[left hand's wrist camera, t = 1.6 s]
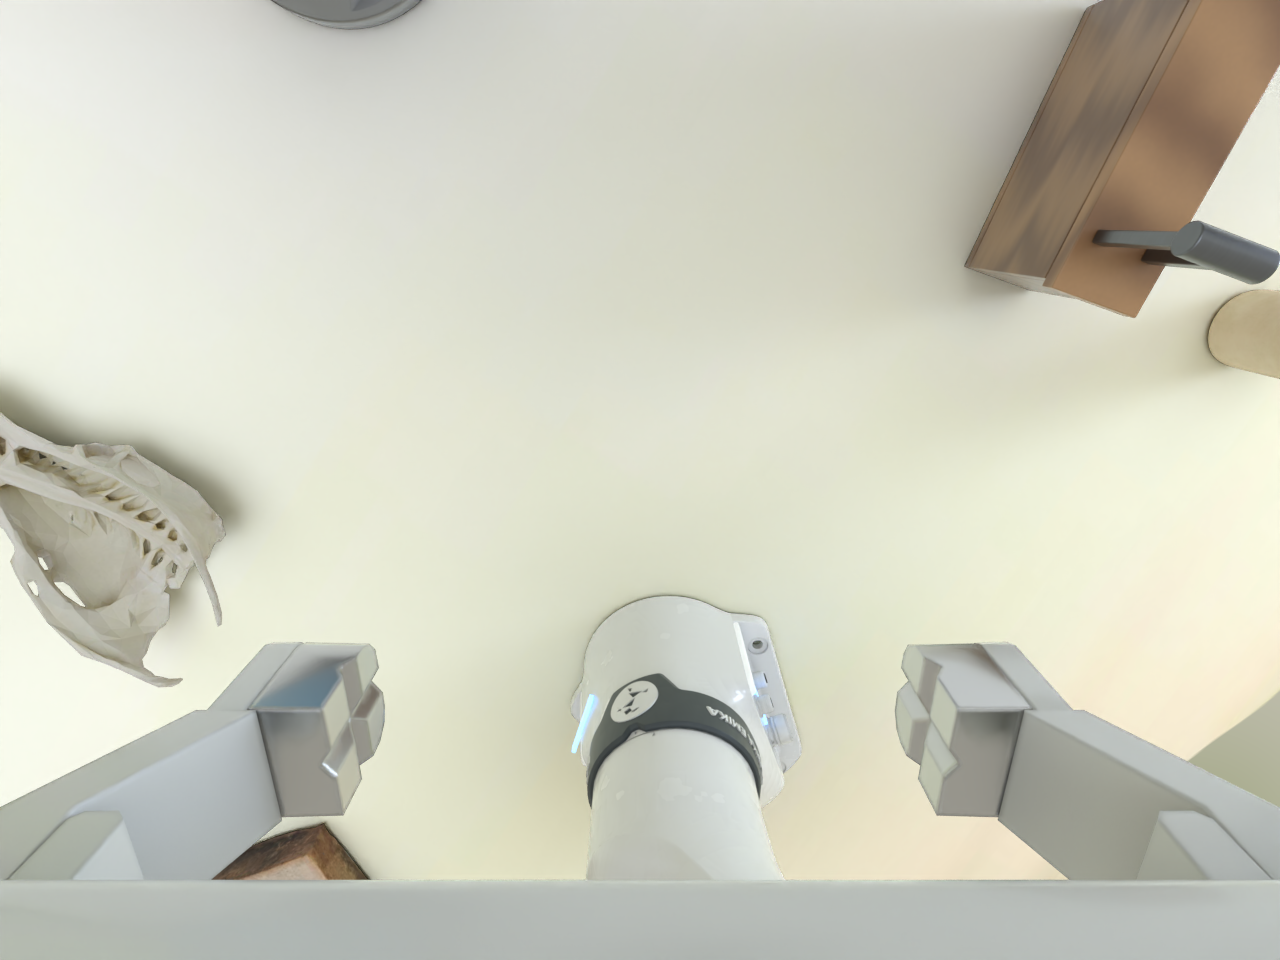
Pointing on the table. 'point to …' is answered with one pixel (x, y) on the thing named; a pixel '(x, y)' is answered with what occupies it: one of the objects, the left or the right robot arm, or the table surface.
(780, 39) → the table surface
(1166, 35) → the chest
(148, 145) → the table surface
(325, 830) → the plaque
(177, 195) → the table surface
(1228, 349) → the candle
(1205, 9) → the lid
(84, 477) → the anatomical model
